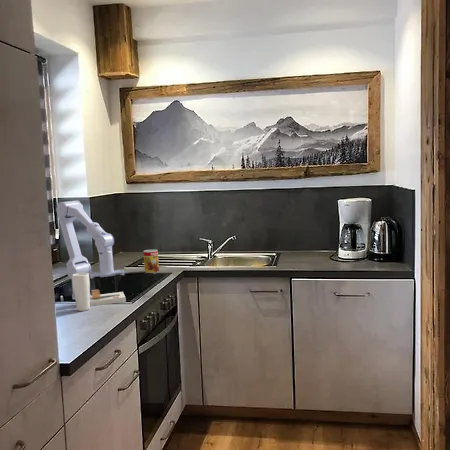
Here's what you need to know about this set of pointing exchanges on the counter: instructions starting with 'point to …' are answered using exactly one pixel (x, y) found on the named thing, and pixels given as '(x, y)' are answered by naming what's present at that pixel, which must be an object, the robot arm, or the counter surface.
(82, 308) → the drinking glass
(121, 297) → the panel
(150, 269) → the canned food
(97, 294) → the breaker toggle
